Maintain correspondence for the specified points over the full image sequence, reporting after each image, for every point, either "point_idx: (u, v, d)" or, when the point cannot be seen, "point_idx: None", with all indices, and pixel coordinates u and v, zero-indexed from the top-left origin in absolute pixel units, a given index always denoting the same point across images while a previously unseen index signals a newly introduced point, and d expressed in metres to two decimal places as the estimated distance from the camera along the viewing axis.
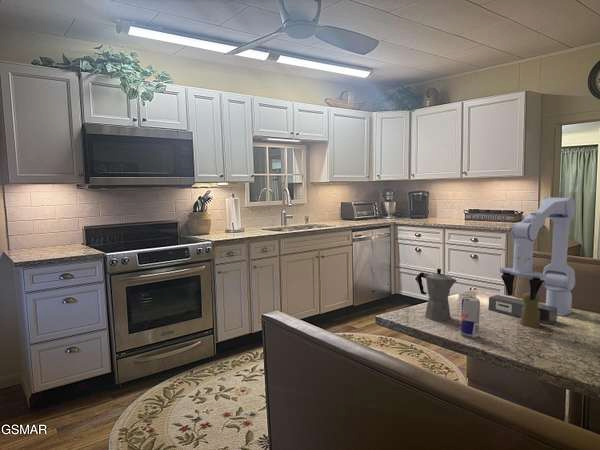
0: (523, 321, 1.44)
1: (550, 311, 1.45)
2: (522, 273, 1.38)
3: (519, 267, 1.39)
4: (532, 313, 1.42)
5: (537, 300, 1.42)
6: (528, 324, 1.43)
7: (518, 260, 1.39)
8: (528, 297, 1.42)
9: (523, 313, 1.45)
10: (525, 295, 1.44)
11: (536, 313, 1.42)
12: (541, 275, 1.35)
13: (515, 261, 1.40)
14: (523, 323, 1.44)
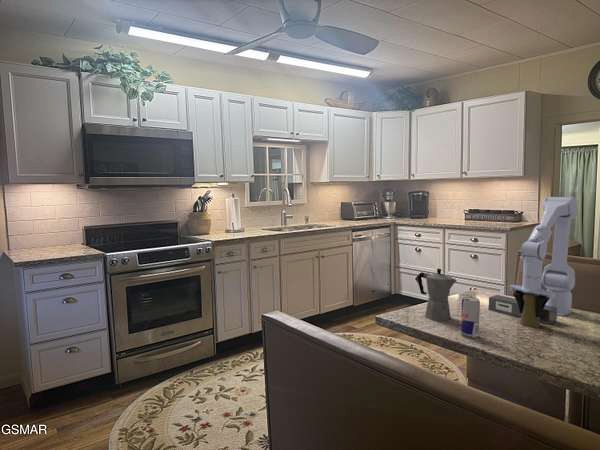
0: (523, 321, 1.44)
1: (550, 311, 1.45)
2: (531, 291, 1.41)
3: (528, 286, 1.42)
4: (532, 313, 1.42)
5: None
6: (528, 324, 1.43)
7: (527, 278, 1.42)
8: (528, 297, 1.42)
9: (523, 313, 1.45)
10: (525, 295, 1.44)
11: None
12: (550, 294, 1.38)
13: (524, 279, 1.43)
14: (523, 323, 1.44)
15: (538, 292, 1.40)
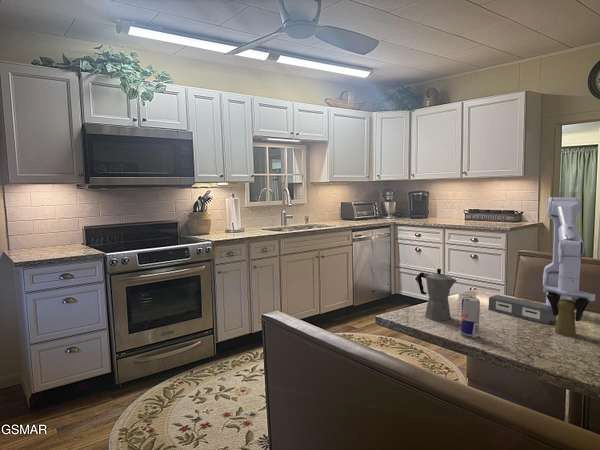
0: (559, 330, 1.35)
1: (550, 311, 1.45)
2: (569, 293, 1.33)
3: (566, 287, 1.33)
4: (569, 322, 1.33)
5: (574, 307, 1.33)
6: (564, 333, 1.34)
7: (564, 279, 1.33)
8: (564, 304, 1.34)
9: (558, 321, 1.36)
10: (561, 302, 1.35)
11: (573, 321, 1.34)
12: (590, 296, 1.29)
13: (561, 280, 1.35)
14: (558, 332, 1.35)
15: (576, 294, 1.32)
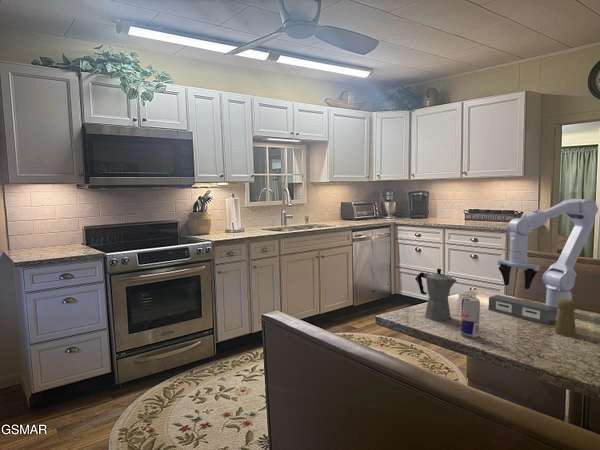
0: (559, 330, 1.35)
1: (550, 311, 1.45)
2: (517, 264, 1.52)
3: (515, 259, 1.53)
4: (569, 322, 1.33)
5: (574, 307, 1.33)
6: (564, 333, 1.34)
7: (514, 253, 1.53)
8: (564, 304, 1.34)
9: (558, 321, 1.36)
10: (561, 302, 1.35)
11: (573, 321, 1.34)
12: (535, 266, 1.49)
13: (511, 254, 1.54)
14: (558, 332, 1.35)
15: (523, 265, 1.51)
